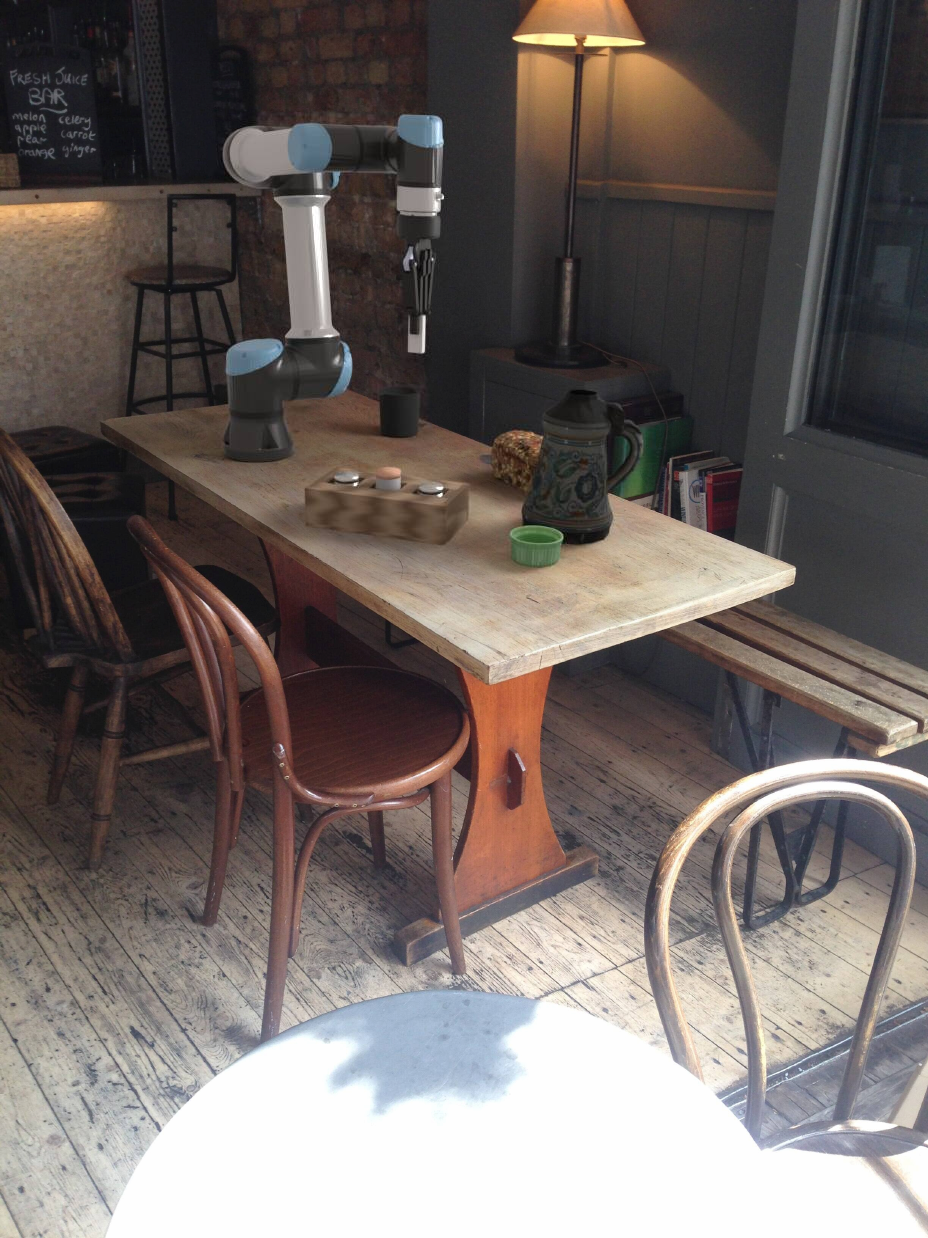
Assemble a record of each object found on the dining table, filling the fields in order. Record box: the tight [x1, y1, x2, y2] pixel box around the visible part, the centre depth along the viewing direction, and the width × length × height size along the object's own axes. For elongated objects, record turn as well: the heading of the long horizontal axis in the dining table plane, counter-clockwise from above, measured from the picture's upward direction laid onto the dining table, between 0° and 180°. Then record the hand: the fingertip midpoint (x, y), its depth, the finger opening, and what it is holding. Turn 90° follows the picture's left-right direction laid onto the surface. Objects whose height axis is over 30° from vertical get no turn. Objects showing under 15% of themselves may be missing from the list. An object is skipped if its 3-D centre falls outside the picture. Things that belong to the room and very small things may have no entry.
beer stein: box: [520, 389, 644, 546], centre depth 193 cm, size 16×19×25 cm
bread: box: [490, 429, 543, 494], centre depth 219 cm, size 19×11×10 cm, turn 35°
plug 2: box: [418, 482, 444, 498], centre depth 193 cm, size 4×4×6 cm
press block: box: [304, 466, 471, 546], centre depth 196 cm, size 26×14×7 cm, turn 73°
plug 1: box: [334, 471, 359, 486], centre depth 197 cm, size 4×4×6 cm
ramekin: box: [508, 525, 563, 568], centre depth 183 cm, size 9×9×4 cm
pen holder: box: [378, 385, 421, 439], centre depth 253 cm, size 9×9×10 cm
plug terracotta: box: [375, 466, 402, 492], centre depth 195 cm, size 4×4×6 cm
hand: (416, 351), depth 198 cm, fingers closed
